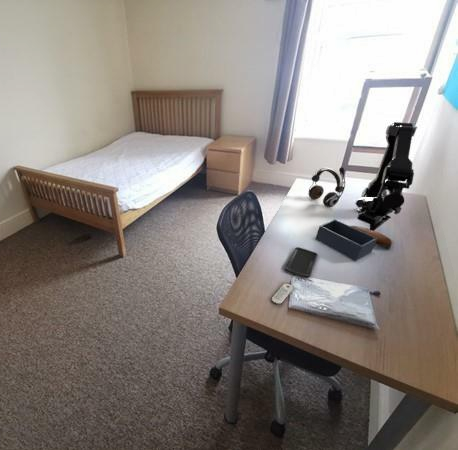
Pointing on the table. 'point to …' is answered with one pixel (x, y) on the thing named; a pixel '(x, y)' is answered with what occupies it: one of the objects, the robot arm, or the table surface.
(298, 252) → the phone
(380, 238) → the sunglasses case
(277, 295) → the keychain
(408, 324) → the table surface
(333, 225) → the box
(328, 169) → the headset
